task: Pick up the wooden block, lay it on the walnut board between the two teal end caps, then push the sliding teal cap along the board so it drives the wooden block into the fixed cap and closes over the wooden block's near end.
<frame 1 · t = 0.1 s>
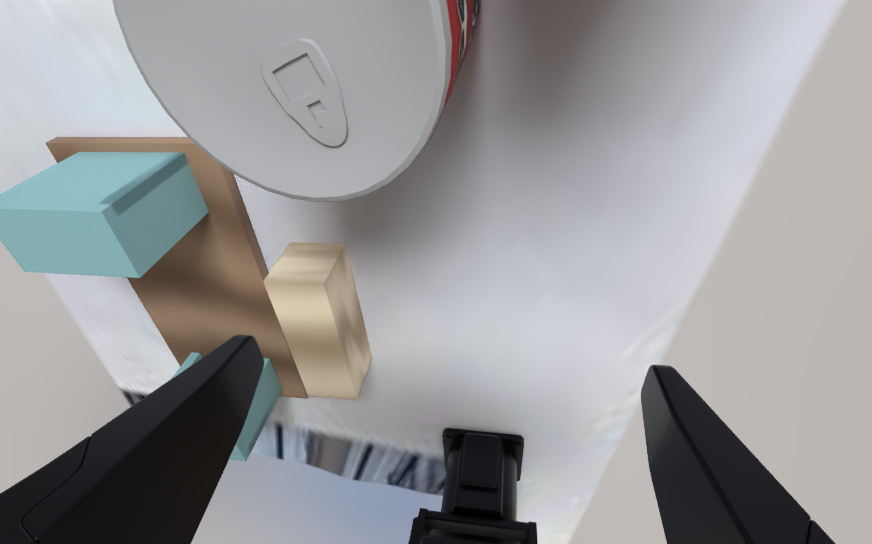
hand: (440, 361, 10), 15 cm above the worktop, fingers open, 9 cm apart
board: (207, 286, 31), on the worktop
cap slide: (216, 405, 33), point 4 cm above the worktop, slide at 0.0 cm
wooden block: (335, 302, 31), on the worktop
cap fixed: (145, 182, 26), resting on board
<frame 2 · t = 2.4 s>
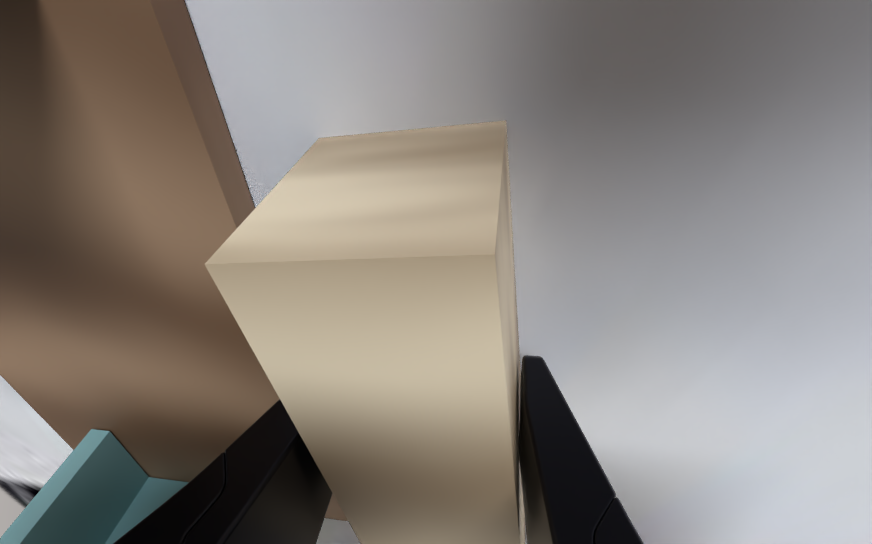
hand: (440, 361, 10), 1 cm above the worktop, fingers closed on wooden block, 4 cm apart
board: (103, 279, 12), on the worktop
wooden block: (445, 327, 11), on the worktop, touching gripper
when the fingers open (3 cm above the worktop, at t = 5.6 s): wooden block stays where it is, resting on board.
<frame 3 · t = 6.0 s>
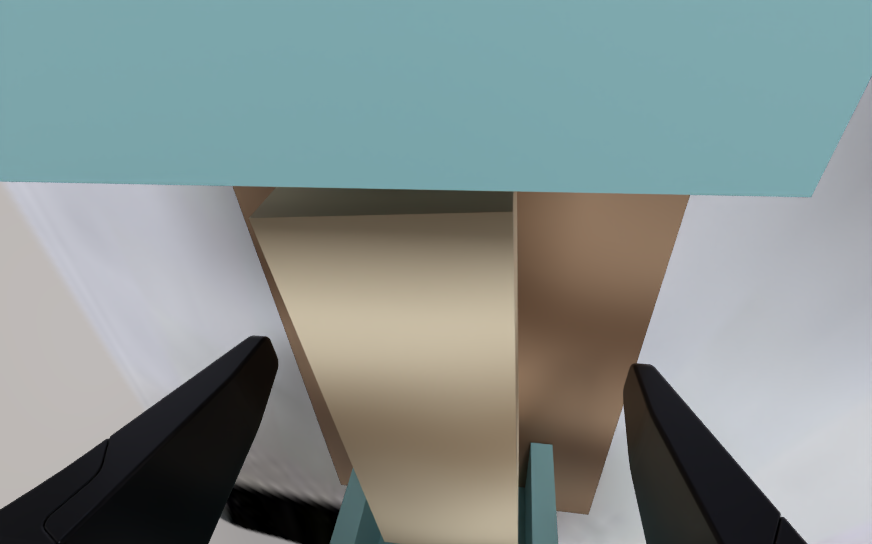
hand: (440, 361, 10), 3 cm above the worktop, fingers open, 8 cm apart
board: (453, 283, 13), on the worktop
wooden block: (449, 301, 12), point 1 cm above the worktop, touching board
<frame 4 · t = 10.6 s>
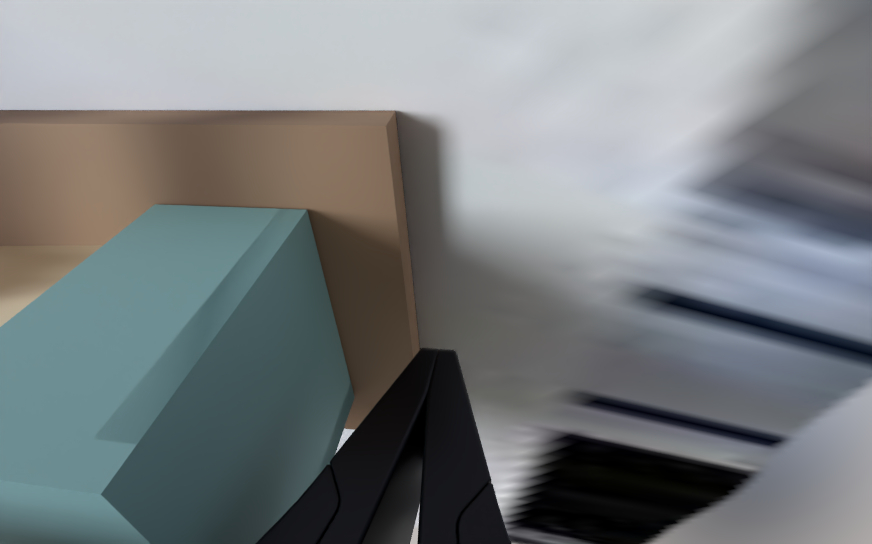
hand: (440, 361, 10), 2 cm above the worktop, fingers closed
board: (65, 279, 14), on the worktop
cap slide: (202, 420, 9), point 4 cm above the worktop, slide at 0.9 cm, touching gripper
wooden block: (42, 296, 13), point 1 cm above the worktop, touching board
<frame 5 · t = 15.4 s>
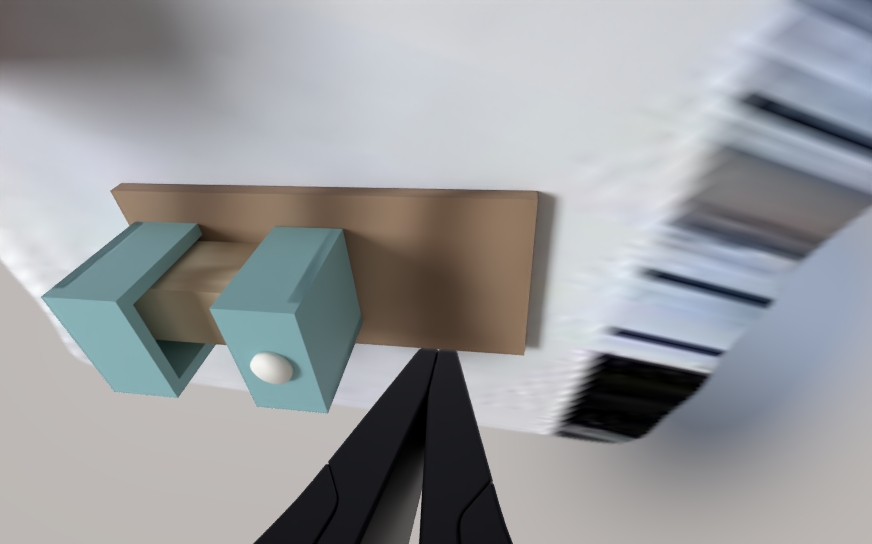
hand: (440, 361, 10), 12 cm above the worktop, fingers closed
board: (334, 268, 25), on the worktop
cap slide: (298, 319, 22), point 4 cm above the worktop, slide at 8.2 cm
wooden block: (252, 269, 25), point 1 cm above the worktop, touching board
cap fixed: (189, 270, 26), resting on board
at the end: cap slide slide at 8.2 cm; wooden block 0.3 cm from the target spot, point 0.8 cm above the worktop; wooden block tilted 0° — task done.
